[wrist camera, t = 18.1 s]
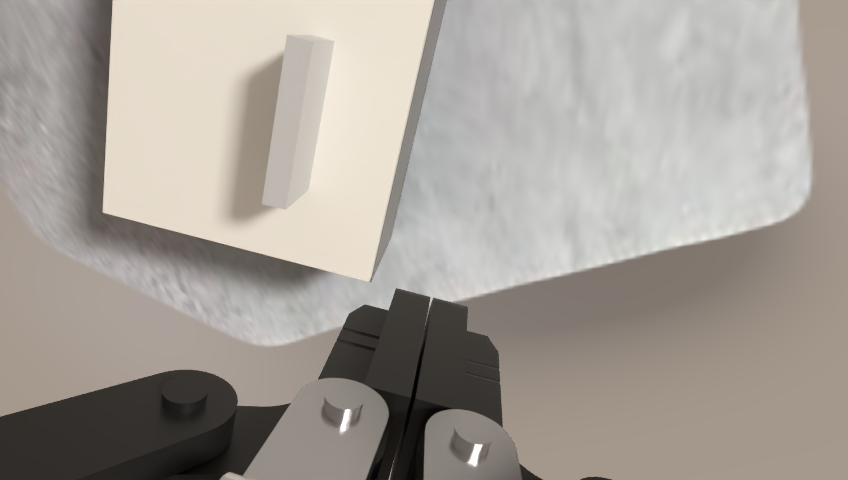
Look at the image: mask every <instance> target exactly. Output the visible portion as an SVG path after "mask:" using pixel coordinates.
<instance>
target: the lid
mask: <svg viewBox="0 0 848 480" xmlns="http://www.w3.org/2000/svg"><path fill="white" fill-rule="evenodd" d="M434 1H435V0H113V5H112V26H111V47H110V68H109V89H108V110H107V131H106V152H105V173H104V194H103V213H106V214H110V215H114V216H118V217H122V218H125V219H129V220H133V221H137V222H141V223H145V224H148V225H152V226H156V227H160V228H164V229H168V230H172V231H175V232H179V233H183V234H187V235H191V236H195V237H198V238H202V239H206V240H210V241H214V242H218V243H222V244H225V245H229V246H233V247H237V248H241V249H245V250H248V251H252V252H256V253H260V254H264V255H268V256H272V257H275V258H279V259H283V260H287V261H291V262H295V263H298V264H302V265H306V266H310V267H314V268H318V269H322V270H325V271H329V272H333V273H337V274H341V275H345V276H348V277H352V278H356V279H360V280H364V281H368V282H369V281H370V279H371V277H372V273H373V268H374V264H375V260H376V255H377V251H378V247H379V242H380V238H381V233H382V229H383V225H384V220H385V216H386V211H387V207H388V203H389V198H390V194H391V190H392V185H393V181H394V176H395V172H396V168H397V163H398V159H399V154H400V150H401V146H402V141H403V137H404V133H405V128H406V124H407V119H408V115H409V111H410V106H411V102H412V97H413V93H414V89H415V84H416V80H417V76H418V71H419V67H420V62H421V58H422V54H423V49H424V45H425V40H426V36H427V32H428V27H429V23H430V19H431V14H432V10H433V5H434Z"/></svg>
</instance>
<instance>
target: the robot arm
mask: <svg viewBox="0 0 848 480" xmlns="http://www.w3.org/2000/svg"><path fill="white" fill-rule="evenodd" d="M429 302H430V297H428V296H424V295H420V294H416V293H413V292H409V291H405V290H401V289H397V288H396V290H395V293H394V296H393V299H392V302H391V305H390V308H389V311H388V310H384V309H380V308H376V307H373V306H369V305H363V306H362V307H360V308H358V309H356V310H355V311H353V312H351V313H349V315H348V317H347V319H346V322H345V324H344V326H343V328H342V330H341V332H340V334H339V336H338V338H337V342H336V343H335V345H334V347H333V349H332V351H331V353H330V355H329V357H328V359H327V362H326V364H325V366H324V368H323V370H322V372H321V374H320V376H319V378H318V380H316V381H313V382H311V383H309V384H307V385H305V386H304V387H303V388H301V390H300V391H299V392H298V393H297V395H296V397H295V398H294V399H293V401H292V402H291V403H290V404H285V405H280V406H272V407H256V406H237V402H238V400H237V395H236V392H235V390H234V389H233V387H232V386H231V385H230V384H229V383H228V382H227V381H225V380H224V379H222V378H220V377H218V376H216V375H214V374H210V373H207V372H202V371H197V370H174V371H168V372H164V373H159V374H156V375H152V376H148V377H145V378H141V379H138V380H134V381H130V382H127V383H123V384H119V385H116V386H112V387H108V388H104V389H101V390H97V391H94V392H90V393H86V394H82V395H79V396H75V397H71V398H68V399H64V400H60V401H57V402H53V403H49V404H46V405H42V406H38V407H35V408H31V409H27V410H24V411H20V412H16V413H13V414H9V415H5V416H2V417H0V480H388V479H389V475H390V472H391V468H392V472H391V477H390V480H542V479H541V478H539V477H537V476H535V475H534V474H532V473H531V472H530V471H528V470H527V469H526V468H524V467H523V466H522V465H521V464H520V463H519V460H518V455H517V450H516V446H515V443H514V442H513V440H512V438H511V437H510V436H509V434H508V433H507V432H506V431H505V430H504V429H503V425H502V408H501V390H500V384H499V383H500V372H499V354H498V351H497V350H496V348H495V347H494V345H493V344H492V342H491V341H490V339H489V338H488V336H485V335H481V334H477V333H473V332H469V331H467V314H468V307H467V306H463V305H459V304H455V303H452V302H448V301H444V300H440V299H436V298H433V300H432V303H431V307H430V311H429V314H428V318H427V312H428V307H429ZM426 318H427V321H426ZM425 323H426V325H425ZM424 328H425V329H424ZM394 457H395V458H394ZM393 461H394V463H393ZM392 465H393V467H392ZM581 480H611V479H607V478H601V477H587V478H583V479H581Z"/></svg>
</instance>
